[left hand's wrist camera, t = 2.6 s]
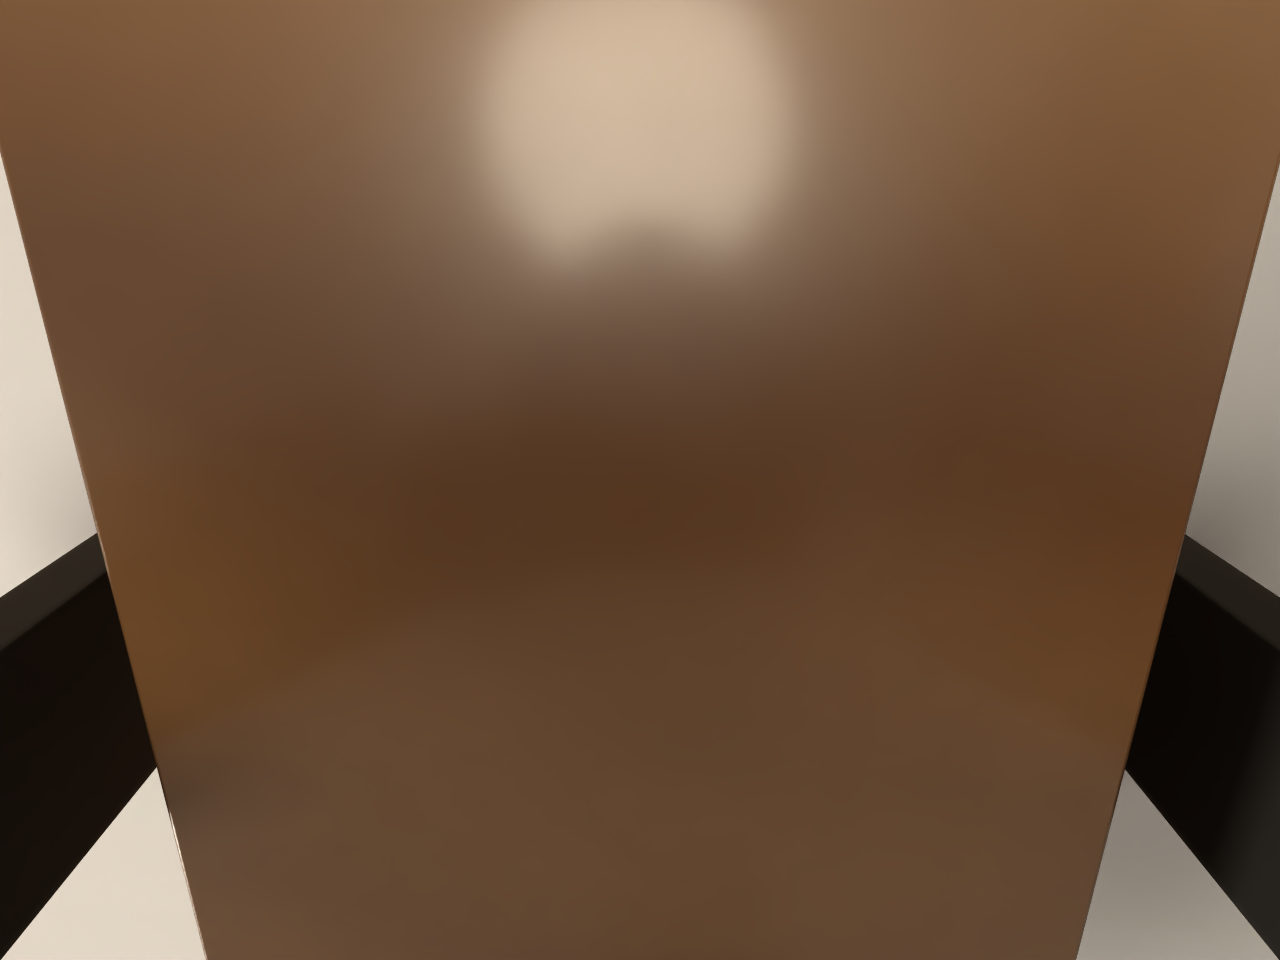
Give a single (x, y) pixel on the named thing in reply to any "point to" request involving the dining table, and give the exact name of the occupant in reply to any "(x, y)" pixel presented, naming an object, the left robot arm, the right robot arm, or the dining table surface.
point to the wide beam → (640, 447)
